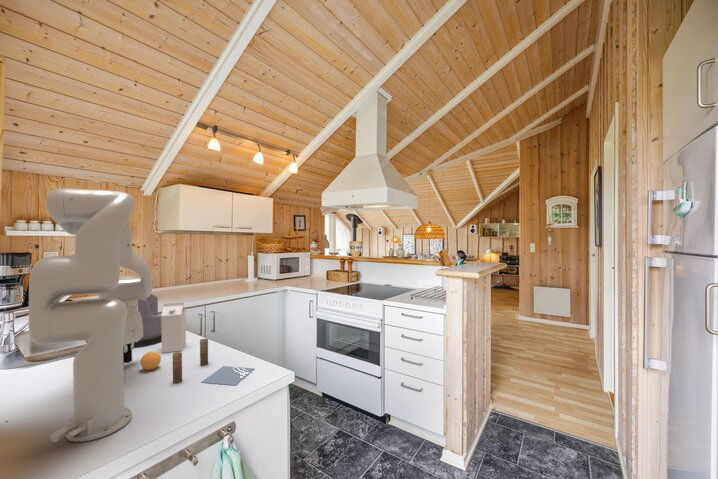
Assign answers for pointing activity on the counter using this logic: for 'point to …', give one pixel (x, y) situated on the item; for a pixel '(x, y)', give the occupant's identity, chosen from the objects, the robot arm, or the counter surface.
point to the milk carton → (173, 327)
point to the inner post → (177, 367)
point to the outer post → (203, 352)
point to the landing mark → (226, 376)
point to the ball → (150, 360)
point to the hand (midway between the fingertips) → (126, 361)
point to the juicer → (149, 322)
